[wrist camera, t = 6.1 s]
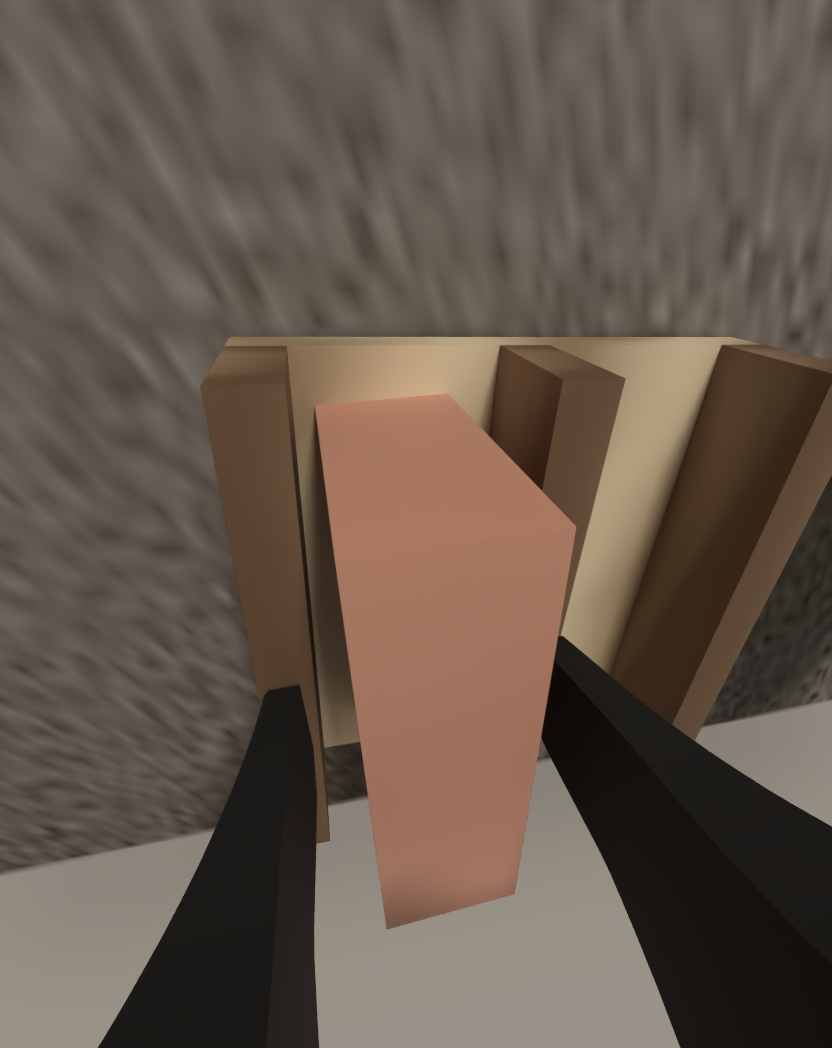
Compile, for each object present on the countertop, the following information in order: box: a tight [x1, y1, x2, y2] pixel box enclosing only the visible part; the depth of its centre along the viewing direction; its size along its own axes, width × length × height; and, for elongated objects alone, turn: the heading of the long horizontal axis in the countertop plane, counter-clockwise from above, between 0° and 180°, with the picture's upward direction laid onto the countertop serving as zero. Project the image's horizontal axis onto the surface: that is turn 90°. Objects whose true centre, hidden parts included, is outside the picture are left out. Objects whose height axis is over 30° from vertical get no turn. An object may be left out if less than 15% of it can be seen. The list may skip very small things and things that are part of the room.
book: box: [315, 393, 576, 929], centre depth 11 cm, size 3×10×6 cm, turn 2°
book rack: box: [200, 337, 832, 844], centre depth 13 cm, size 13×13×4 cm
